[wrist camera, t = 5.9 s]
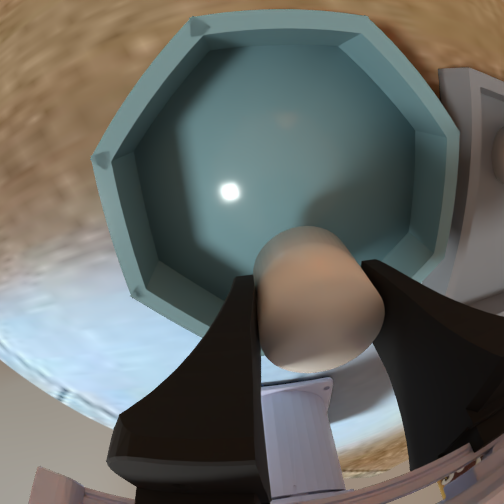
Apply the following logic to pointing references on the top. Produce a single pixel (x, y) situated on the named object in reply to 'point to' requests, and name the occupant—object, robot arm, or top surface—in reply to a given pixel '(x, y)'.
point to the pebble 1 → (313, 301)
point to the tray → (474, 194)
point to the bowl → (272, 155)
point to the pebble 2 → (498, 155)
